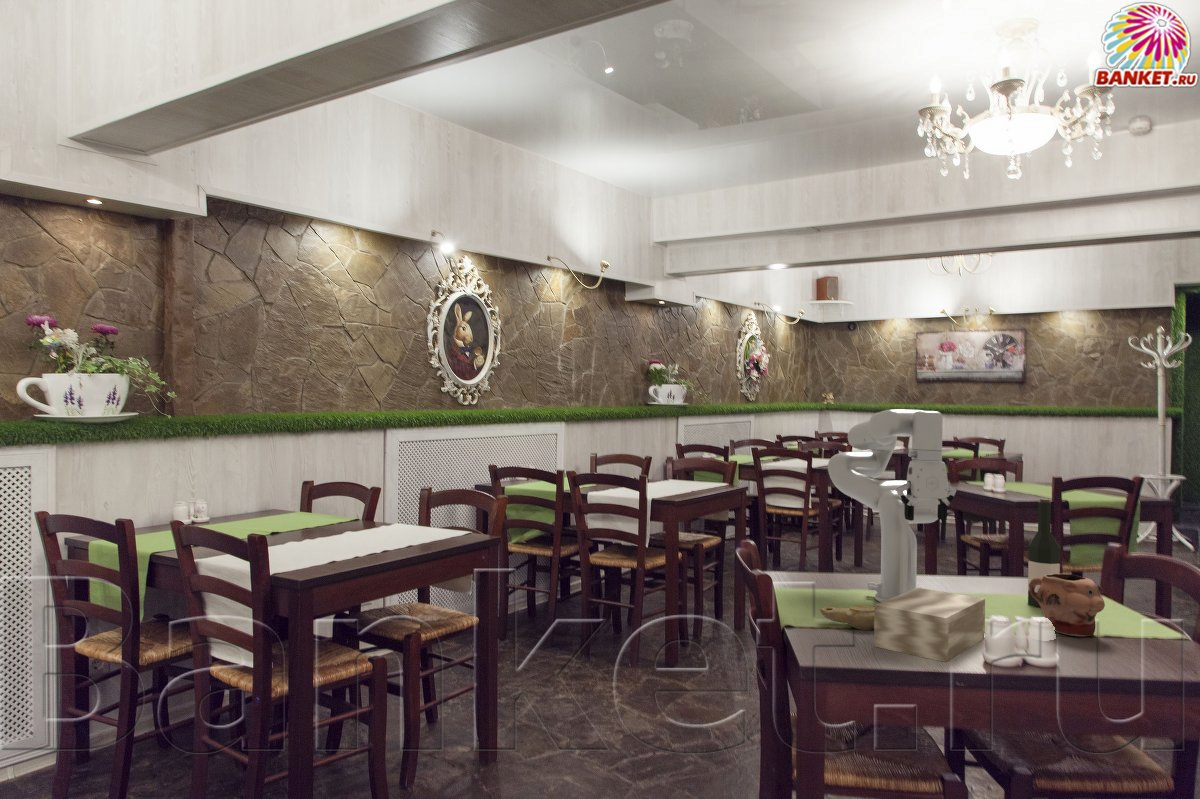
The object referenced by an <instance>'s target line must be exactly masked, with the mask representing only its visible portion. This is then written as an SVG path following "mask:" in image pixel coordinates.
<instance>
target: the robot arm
mask: <svg viewBox="0 0 1200 799" xmlns="http://www.w3.org/2000/svg"><path fill="white" fill-rule="evenodd" d="M943 423H944V422H943V414H942V413H941V412H939V411H937V410H936V411H935V410H922V409H899V408H898V409H885V410H882V411H879V412H876V413H874V414H872V415H871V417H870V419H869V420H867V421H864V422H860V423H858V424H855V425H853V426H852V427H851V428H850V430H848V433H847V441H848V444H849V445H850V446H851V447H853V448H854V449H856V450H859V451H844V452H838V453H836V454H834V455H833V456H831V458H830V459H829V460H828V461H827V462H828V463H827V470H828V475H829V478H830V480H831V482H832V483H833V485H834V486H835V487H836V489H838V490H839V492H841V493H843V494H844V495H846V496H847V497H850V498H851V499H854V500H856V501H857V502H859V503H861V504H863V505H865V506H867V507H868V508H870V509H872V510H873V511H875V512H878V516H879V520H880V521H879V522H880V534H881V535H880V536H881V537H880V538H881V539H880V540H881V542H880V545H881V546H880V548H881V551H880V552H881V553H880V582H878V583H876V582H874V581H873V582H872V581H868V582H867V589H868V590H870V591H875V592H876V593H875V594H874V599H875V600H876V601H877V602H878V603H881V602H883V601H886V600H888V599H891V598H893V597H896V596H898V595H901V594H903V593H906V592H908V591H911V590H914V589H916V588H917V565H918V564H917V562H918V561H917V557H918V556H917V555H918V554H917V553H918V552H917V551H918V549H917V548H918V543H917V542H918V541H917V537H916V534H915V533H914V531H913V530H912V528H911V526H910V525H912V524H931V523H934V522H936V521H937V520H942V521H947V517H948V506H950V504H951V502H953V500H954V497H955V495H956V492H957V489H956V488H955V487H953V486H952V485H950V484H949V482H948V480H949V479H948V470H947V466H946V463H945V462H944V461H943V425H944V424H943ZM898 437H911V439H912V440H911V442H912V443H911V444H912V445H911V446H912V447H911V451H909V452H908V453H907V456H908V457H909V458H911V460H910V461H909V464H908V468H907V474H906V480H905V479H904V480H903V479H902V480H900V479H899V480H893V479H892V480H889V479H885V480H884V479H882V480H881V479H877V478H880V477H881V476H882V475H883V474H884V472H885V470H886V469H887V467H888V463H889V461H890V460H891V458H892V455H893V454H894V451H895V448H896V446H897V441H898Z"/></svg>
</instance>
